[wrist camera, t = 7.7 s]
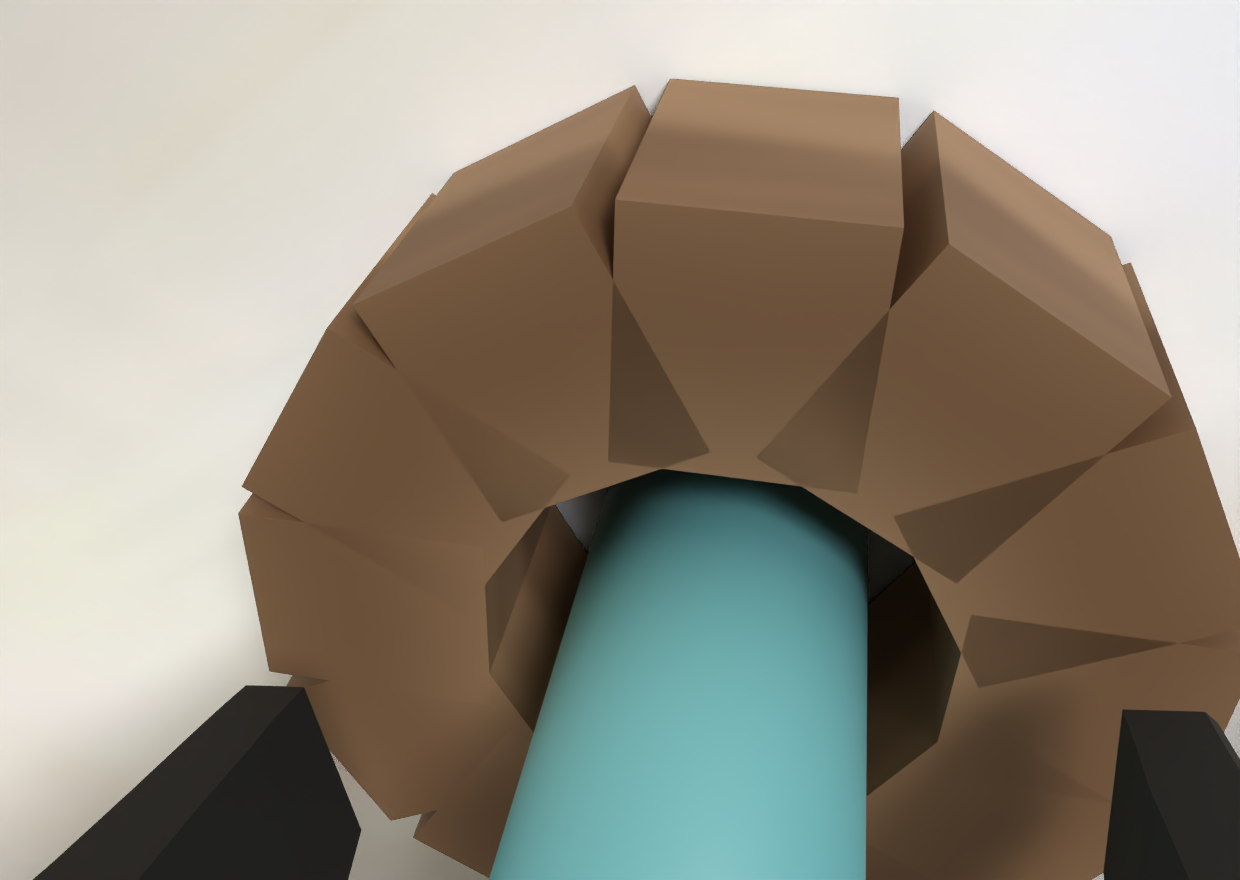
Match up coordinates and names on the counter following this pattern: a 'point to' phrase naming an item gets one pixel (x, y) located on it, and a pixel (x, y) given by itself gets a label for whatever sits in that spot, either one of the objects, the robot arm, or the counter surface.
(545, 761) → the capsule peg
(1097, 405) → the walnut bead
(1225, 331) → the counter surface
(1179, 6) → the counter surface
